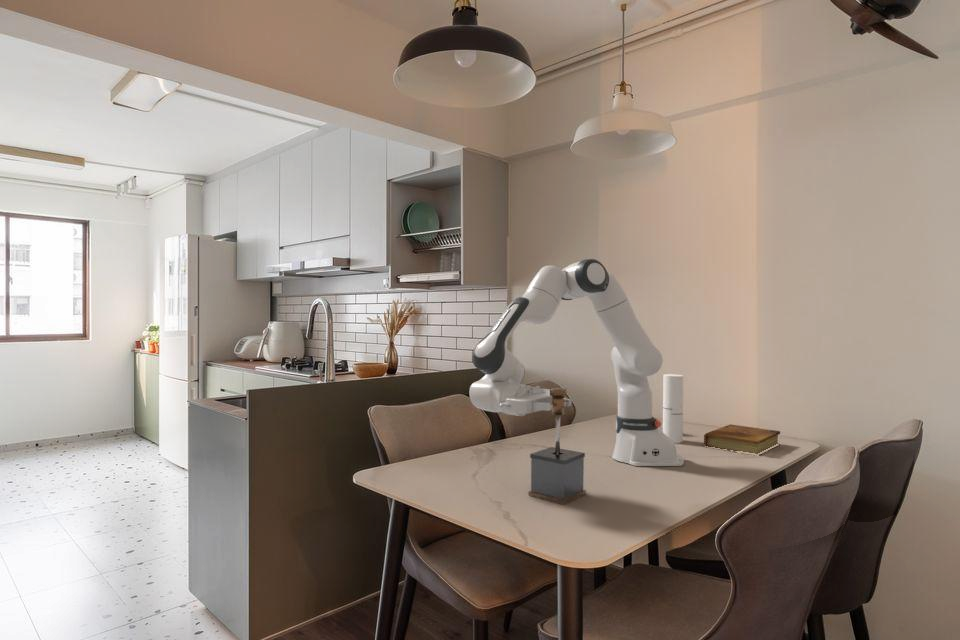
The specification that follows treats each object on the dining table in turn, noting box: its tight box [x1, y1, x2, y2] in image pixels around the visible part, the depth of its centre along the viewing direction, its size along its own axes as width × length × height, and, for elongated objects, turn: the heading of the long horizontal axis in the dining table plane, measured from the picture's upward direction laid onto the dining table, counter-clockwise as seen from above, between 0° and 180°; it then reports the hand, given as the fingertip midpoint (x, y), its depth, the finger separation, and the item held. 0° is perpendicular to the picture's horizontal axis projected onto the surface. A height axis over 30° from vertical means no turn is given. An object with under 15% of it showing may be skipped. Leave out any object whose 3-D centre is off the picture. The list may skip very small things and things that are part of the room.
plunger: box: [549, 387, 568, 455], centre depth 151 cm, size 8×8×19 cm
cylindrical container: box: [662, 373, 684, 444], centre depth 215 cm, size 7×7×25 cm
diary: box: [703, 423, 781, 454], centre depth 208 cm, size 23×19×6 cm
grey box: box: [528, 446, 587, 505], centre depth 151 cm, size 11×11×11 cm
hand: (560, 405), depth 150 cm, fingers open, 8 cm apart
